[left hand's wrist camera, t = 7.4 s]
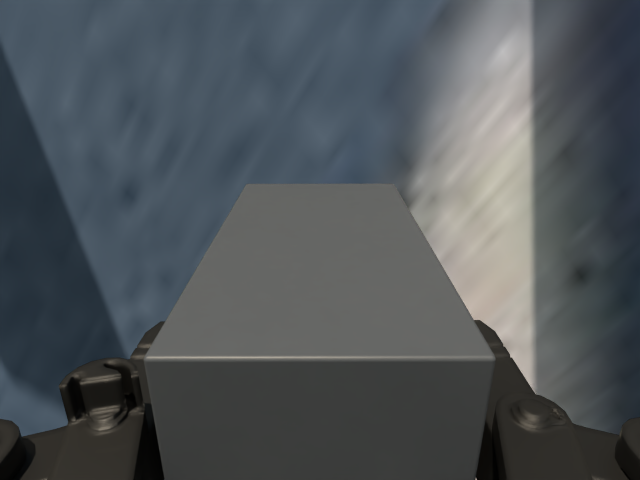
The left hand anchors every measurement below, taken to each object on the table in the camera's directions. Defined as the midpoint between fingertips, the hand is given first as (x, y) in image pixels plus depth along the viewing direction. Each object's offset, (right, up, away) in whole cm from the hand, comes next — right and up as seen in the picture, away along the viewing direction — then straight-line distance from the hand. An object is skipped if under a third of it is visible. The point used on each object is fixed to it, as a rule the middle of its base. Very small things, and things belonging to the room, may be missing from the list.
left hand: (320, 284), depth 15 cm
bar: (0, -7, +3) cm, 7 cm away
